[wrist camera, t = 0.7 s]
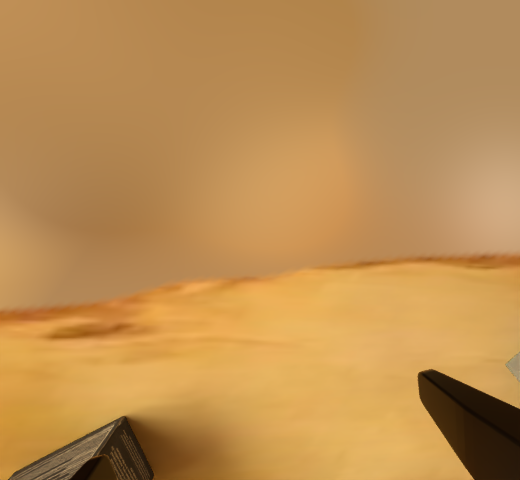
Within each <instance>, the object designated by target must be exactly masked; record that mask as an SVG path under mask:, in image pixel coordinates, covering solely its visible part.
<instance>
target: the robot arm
mask: <svg viewBox="0 0 520 480" xmlns="http://www.w3.org/2000/svg"><path fill="white" fill-rule="evenodd" d="M418 386H419V395H420V399H421V401H422V403H423V405H424V407H425V408H426V410H427V411H428V413H429V414H430V416H431V417H432V419H433V420H434V422H435V423H436V425H437V426H438V428H439V429H440V431H441V432H442V434H443V435H444V437H445V438H446V440H447V441H448V443H449V444H450V446H451V447H452V449H453V450H454V452H455V453H456V455H457V456H458V458H459V459H460V460H461V462H462V463H463V465H464V466H465V468H466V469H467V470H468V472H469V473H470V474H471V476H472V477H473V478H474V480H520V409H519V408H517V407H514V406H512V405H510V404H508V403H506V402H503V401H501V400H499V399H497V398H495V397H493V396H490V395H488V394H486V393H484V392H482V391H480V390H477V389H475V388H473V387H471V386H469V385H466V384H464V383H462V382H460V381H458V380H456V379H453V378H451V377H449V376H447V375H445V374H443V373H440V372H438V371H436V370H433V369H429V370H425V371H422V372H419V373H418ZM69 480H117V476H116V473H115V471H114V468H113V466H112V464H111V462H110V459H109V457H108V456H107V455H105V454H103V455H99V456H95V457H92V458H90V459H88V460H87V461H86V462H85V463H84V464H83V465H82V466H81V467H80V468H79V469H78V471H77V472H76V473H75V474H74V475H73V476H72V477H71V478H70V479H69Z"/></svg>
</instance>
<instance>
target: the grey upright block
mask: <svg viewBox="0 0 520 480" xmlns="http://www.w3.org/2000/svg"><path fill="white" fill-rule="evenodd" d="M506 366H507V367H508V369H509V370H510V371H511V372H512V373H513V375H514V376H515V377H516V378H517V380H518V381H519V382H520V352H519V353H518V354H517V355H515V356H514V357H513V358H512V359H511V360H510V361H509V362H508V363H507V364H506Z"/></svg>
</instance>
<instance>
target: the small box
mask: <svg viewBox="0 0 520 480" xmlns="http://www.w3.org/2000/svg"><path fill="white" fill-rule="evenodd" d="M103 454H105V455H107V456H108V457H109V459H110V462H111V464H112V466H113V468H114V471H115V473H116V476H117V480H152V479H153V477H154V474H153V471H152V470H151V467H150V465H149V463H148V461H147V459H146V457H145V455H144V453H143V451H142V449H141V447H140V445H139V443H138V441H137V439H136V437H135V435H134V433H133V431H132V429H131V427H130V425H129V423H128V421H127V419H126V418H125V417H124V416H123V417H121V418H119V419H117V420H115V421H113V422H111V423H109V424H107V425H105V426H103V427H101V428H99V429H97V430H95V431H93V432H91V433H90V434H87V435H86V436H84V437H82V438H80V439H78V440H76V441H74V442H72V443H70V444H68V445H66V446H64V447H63V448H61V449H59V450H57V451H55V452H53V453H51V454H49V455H47V456H45V457H43V458H41V459H39V460H38V461H36V462H34V463H32V464H30V465H28V466H26V467H24V468H22V469H21V470H19V471H16V472H15V473H14V474H13V475H12V476H11V477H10V478H9V479H8V480H69V479H70V478H71V477H72V476H73V475H74V474H75V473H76V472H77V471H78V469H79V468H80V467H81V466H82V465H83V464H84V463H85V462H86V461H87V460H88V459H90V458H92V457H95V456H99V455H103Z"/></svg>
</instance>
